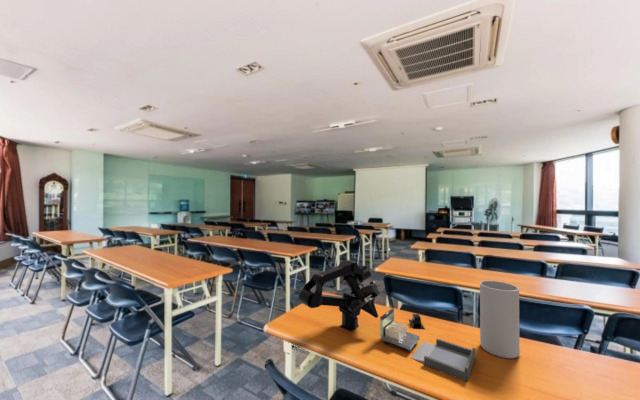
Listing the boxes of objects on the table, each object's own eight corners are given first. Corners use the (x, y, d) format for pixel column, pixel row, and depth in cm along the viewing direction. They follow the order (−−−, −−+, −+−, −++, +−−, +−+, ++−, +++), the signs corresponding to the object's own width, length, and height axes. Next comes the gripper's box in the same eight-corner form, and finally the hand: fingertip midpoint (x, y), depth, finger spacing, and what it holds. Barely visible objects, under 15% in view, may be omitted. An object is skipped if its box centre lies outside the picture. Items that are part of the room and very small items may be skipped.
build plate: (428, 332, 113) (428, 322, 113) (411, 331, 114) (411, 321, 114) (420, 319, 126) (420, 310, 126) (405, 319, 127) (405, 309, 127)
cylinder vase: (519, 348, 100) (519, 284, 101) (519, 364, 90) (519, 293, 91) (482, 337, 108) (481, 278, 108) (478, 351, 98) (478, 286, 98)
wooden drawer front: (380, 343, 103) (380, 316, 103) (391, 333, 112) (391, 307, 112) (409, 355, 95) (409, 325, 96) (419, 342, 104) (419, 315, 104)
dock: (409, 361, 93) (409, 348, 93) (423, 343, 105) (423, 331, 105) (467, 385, 81) (467, 369, 81) (475, 361, 93) (475, 347, 93)
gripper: (355, 280, 107) (379, 314, 99) (376, 272, 121) (398, 301, 114) (340, 295, 111) (361, 328, 104) (361, 285, 126) (382, 314, 118)
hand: (377, 317), depth 110 cm, fingers closed
